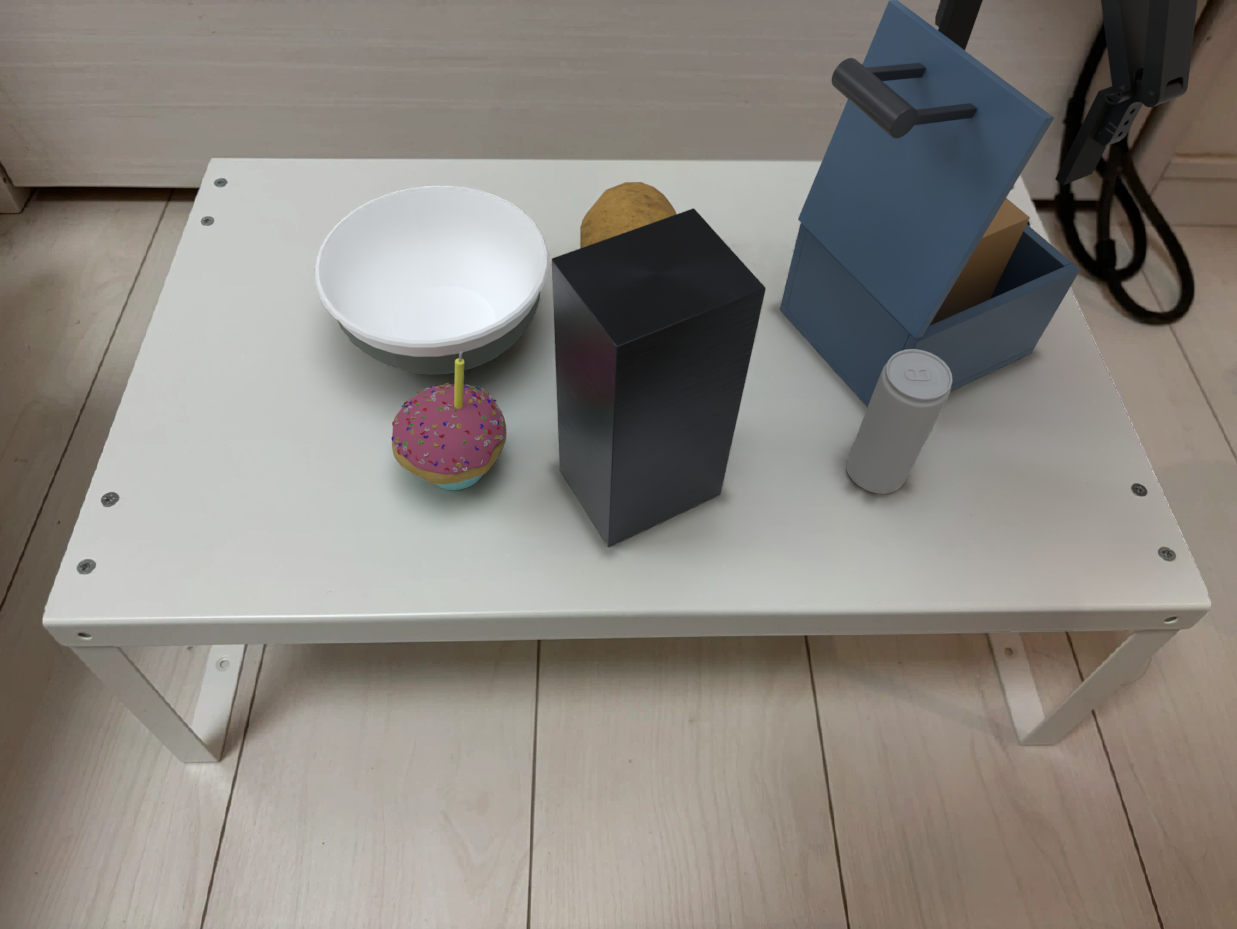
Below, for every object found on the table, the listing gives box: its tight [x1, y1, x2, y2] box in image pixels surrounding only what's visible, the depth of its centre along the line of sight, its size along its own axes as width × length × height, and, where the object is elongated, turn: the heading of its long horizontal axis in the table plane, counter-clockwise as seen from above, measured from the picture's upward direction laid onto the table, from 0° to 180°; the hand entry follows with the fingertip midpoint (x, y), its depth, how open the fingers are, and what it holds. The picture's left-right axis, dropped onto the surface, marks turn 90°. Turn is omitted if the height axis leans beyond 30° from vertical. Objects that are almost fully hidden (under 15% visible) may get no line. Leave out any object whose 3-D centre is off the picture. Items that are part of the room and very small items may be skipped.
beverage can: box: [845, 349, 952, 495], centre depth 69 cm, size 5×5×12 cm
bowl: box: [313, 185, 550, 375], centre depth 78 cm, size 19×19×8 cm
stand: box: [551, 207, 767, 548], centre depth 63 cm, size 8×10×22 cm
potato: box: [579, 181, 677, 249], centre depth 81 cm, size 10×13×9 cm
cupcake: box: [391, 351, 507, 491], centre depth 68 cm, size 9×8×12 cm
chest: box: [779, 222, 1081, 408], centre depth 79 cm, size 17×15×10 cm
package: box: [929, 197, 1031, 326], centre depth 78 cm, size 6×8×12 cm
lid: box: [797, 0, 1055, 339], centre depth 63 cm, size 18×15×8 cm
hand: (1003, 123), depth 66 cm, fingers open, 13 cm apart
